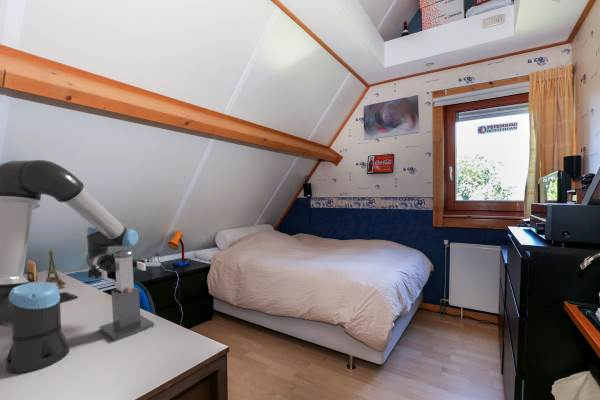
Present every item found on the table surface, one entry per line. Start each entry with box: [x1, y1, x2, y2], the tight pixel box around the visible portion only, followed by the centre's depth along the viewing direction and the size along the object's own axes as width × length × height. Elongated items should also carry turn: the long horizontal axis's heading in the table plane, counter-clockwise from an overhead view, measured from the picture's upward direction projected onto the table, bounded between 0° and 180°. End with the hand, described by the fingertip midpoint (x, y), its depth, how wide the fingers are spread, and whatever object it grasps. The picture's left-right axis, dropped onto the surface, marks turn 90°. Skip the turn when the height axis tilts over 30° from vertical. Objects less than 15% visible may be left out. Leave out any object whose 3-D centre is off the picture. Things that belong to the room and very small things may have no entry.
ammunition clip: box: [26, 259, 38, 283], centre depth 181 cm, size 11×2×12 cm, turn 57°
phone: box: [59, 291, 78, 304], centre depth 149 cm, size 8×1×15 cm
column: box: [112, 249, 135, 293], centre depth 113 cm, size 6×6×28 cm
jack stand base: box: [99, 286, 155, 342], centre depth 114 cm, size 14×14×16 cm
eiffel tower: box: [45, 243, 67, 290], centre depth 165 cm, size 11×11×25 cm
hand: (126, 271), depth 114 cm, fingers open, 13 cm apart
